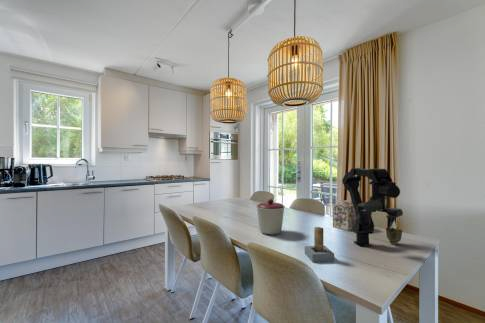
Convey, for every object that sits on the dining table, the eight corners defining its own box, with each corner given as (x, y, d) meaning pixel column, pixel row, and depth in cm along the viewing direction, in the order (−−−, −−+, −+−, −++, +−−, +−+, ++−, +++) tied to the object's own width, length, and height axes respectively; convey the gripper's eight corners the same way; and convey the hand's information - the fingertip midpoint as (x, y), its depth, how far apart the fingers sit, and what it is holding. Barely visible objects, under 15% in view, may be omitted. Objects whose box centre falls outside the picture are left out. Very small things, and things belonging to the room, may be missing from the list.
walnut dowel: (314, 253, 110) (314, 226, 110) (323, 255, 109) (323, 227, 109) (314, 257, 106) (314, 229, 106) (323, 258, 105) (323, 229, 105)
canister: (264, 238, 133) (264, 202, 133) (251, 230, 150) (251, 197, 150) (290, 234, 140) (290, 200, 140) (275, 226, 157) (275, 195, 157)
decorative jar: (358, 228, 153) (358, 201, 153) (348, 231, 147) (348, 203, 147) (341, 224, 163) (341, 198, 163) (331, 226, 157) (331, 200, 157)
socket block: (304, 253, 112) (304, 246, 112) (324, 252, 113) (324, 245, 113) (312, 262, 102) (312, 254, 102) (334, 261, 103) (334, 253, 103)
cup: (382, 242, 126) (382, 228, 126) (391, 241, 129) (391, 226, 129) (396, 247, 119) (396, 232, 119) (405, 245, 122) (405, 230, 122)
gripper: (350, 193, 115) (350, 224, 115) (389, 198, 99) (389, 235, 99) (364, 192, 120) (364, 221, 120) (403, 196, 104) (403, 231, 104)
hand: (378, 227), depth 111 cm, fingers open, 9 cm apart
